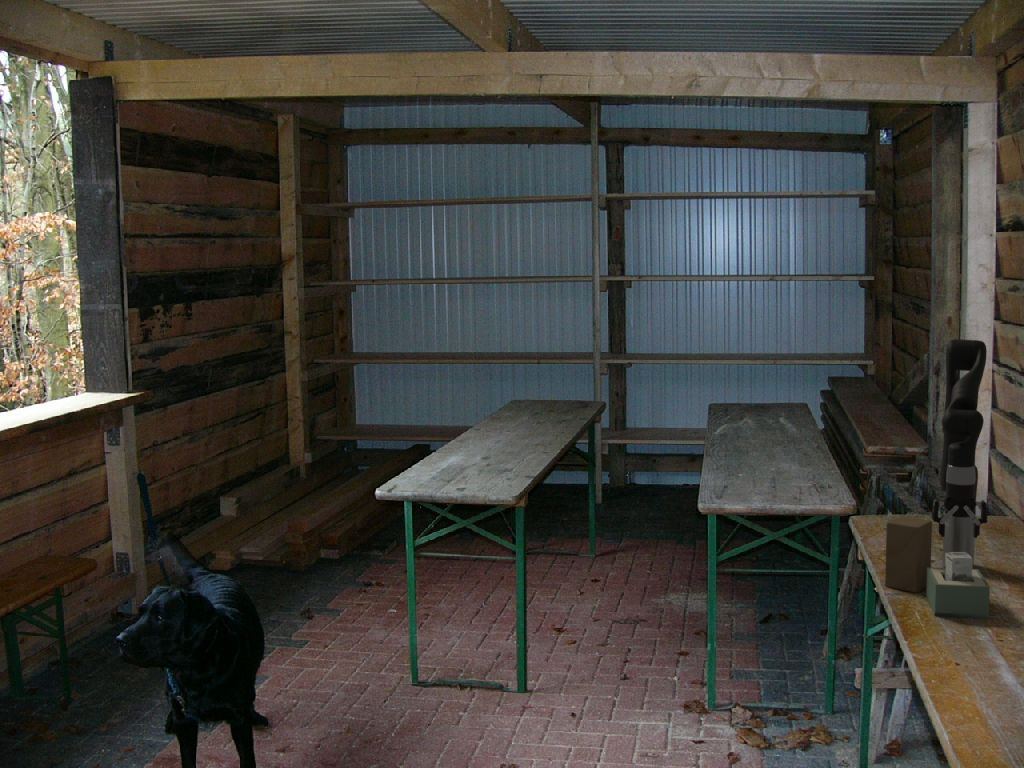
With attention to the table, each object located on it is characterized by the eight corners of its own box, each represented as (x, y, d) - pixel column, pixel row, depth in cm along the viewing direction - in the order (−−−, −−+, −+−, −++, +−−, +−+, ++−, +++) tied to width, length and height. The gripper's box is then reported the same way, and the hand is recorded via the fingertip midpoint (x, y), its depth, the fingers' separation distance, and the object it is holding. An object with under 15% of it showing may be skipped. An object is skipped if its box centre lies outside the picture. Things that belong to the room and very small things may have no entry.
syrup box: (963, 600, 321) (965, 551, 319) (971, 607, 315) (972, 557, 313) (943, 600, 321) (944, 551, 319) (950, 607, 316) (952, 557, 313)
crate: (926, 597, 328) (927, 567, 326) (977, 599, 325) (978, 569, 323) (934, 616, 312) (935, 584, 311) (988, 618, 309) (989, 586, 308)
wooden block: (884, 586, 338) (886, 522, 335) (898, 578, 345) (900, 515, 342) (916, 593, 331) (918, 527, 328) (930, 585, 338) (932, 520, 335)
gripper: (985, 477, 315) (983, 533, 318) (931, 476, 318) (929, 532, 320) (990, 484, 308) (988, 541, 310) (935, 483, 311) (934, 539, 313)
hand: (958, 536), depth 315 cm, fingers open, 8 cm apart
